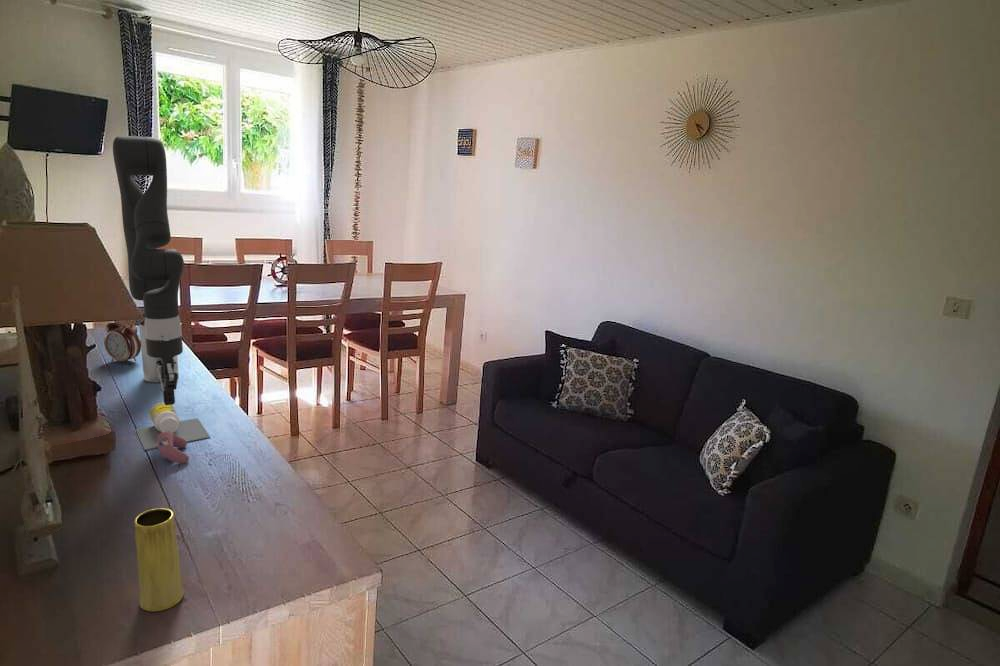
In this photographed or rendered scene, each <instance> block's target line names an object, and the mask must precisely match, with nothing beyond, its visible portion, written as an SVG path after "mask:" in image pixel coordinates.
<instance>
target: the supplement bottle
mask: <svg viewBox="0 0 1000 666" xmlns="http://www.w3.org/2000/svg"><path fill="white" fill-rule="evenodd" d="M149 412H150V413H149V415H150V419H151V421H152V423H153V426H155V427H156V429H157V430H158V431H160V432H163V431H166V430H168V431H171V432H172V433H173V432H175V431H176V430H177V428H178V424H179V421H180V419H179V415H178V414H177V412H176V410H175V408H174V407H173V405H165V403H164V402H159V403H156V404H155V405H154V406H153V407H152V408H151V409H150V411H149Z"/></svg>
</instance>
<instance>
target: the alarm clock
mask: <svg viewBox="0 0 1000 666" xmlns="http://www.w3.org/2000/svg"><path fill="white" fill-rule="evenodd" d="M105 331H106V333H105V335H104V337H103V344H104V349H105V351H106V352H107V354H108V356H110V357H111V362H114V361H117V362H126V363H127V365H128V364H129V365H130V362H129V360H131V359H133V360H134V361H135V362H136V361H137V359H136V357H137V356H139V354H140V353H141V340H140V335H138V327H137V326H136V325H135V324H133V323H130V322H129V323H126V324H124V325H123V324H121V323H120V322H119V323H109V322H108V323H106V324H105Z"/></svg>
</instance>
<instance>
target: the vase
mask: <svg viewBox="0 0 1000 666" xmlns="http://www.w3.org/2000/svg"><path fill="white" fill-rule="evenodd" d="M133 525H134V535H135V547H136V559H137V560H136V562H137V575H138V583H139V586H138V587H139V607H140V608H141V610H143V611H145V612H161V611H165V610H168V609H171V608H173V607H175V606H176V605H177V604H179V603H180V602H181V601H182V599H183V597H184V595H185V591H184V588H183V578H182V571H181V562H180V555H179V554H180V553H179V548H178V540H177V531H176V519H175V514H174V511H173V510H172V509H170V508H163V507H159V508H152V509H147V510H145V511H142V512H141V513H139V514H138V515H137V516H136V517H135V519H134V521H133Z"/></svg>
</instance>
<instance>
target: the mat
mask: <svg viewBox="0 0 1000 666" xmlns="http://www.w3.org/2000/svg"><path fill="white" fill-rule="evenodd" d="M135 432H136V435H137V437H138V439H139V441H140V443H141V446H142V448H143V450H144V451H150V450H155V449H158V445H159V443H158V434H160V433H161V432H160V431H158V430H157V429H156V427H155V426H154V425H152V426H146V427H140V428H135ZM173 434H175V435H177V436H179V437H181V438H183V439H185V440H186V442H187V443H191V442H190V441H192V442H195V440H197V441H200V440H199V439H202V440H205V439H204V438H207V439H209V438H208V437H210V438H211V435H210V434H209V433H208V431H207V430H206V428H205V427H204V426H203V423H202V422H201V420H199V418H197V417H196V418H191V419H185V420H179V424H178V428H177V430H176V431H175V432H173Z"/></svg>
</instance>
